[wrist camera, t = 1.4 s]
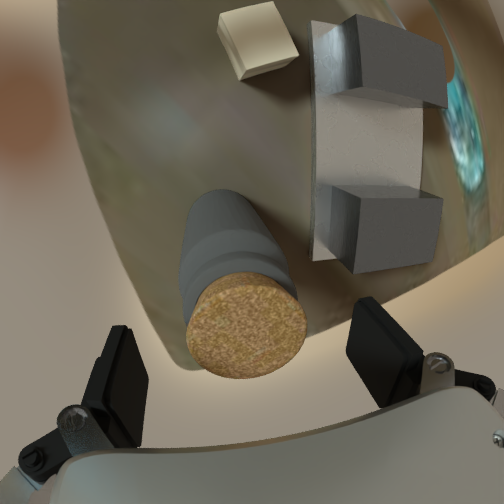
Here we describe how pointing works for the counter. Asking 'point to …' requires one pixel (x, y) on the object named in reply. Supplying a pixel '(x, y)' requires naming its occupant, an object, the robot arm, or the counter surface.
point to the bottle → (237, 290)
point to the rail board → (372, 143)
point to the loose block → (256, 39)
